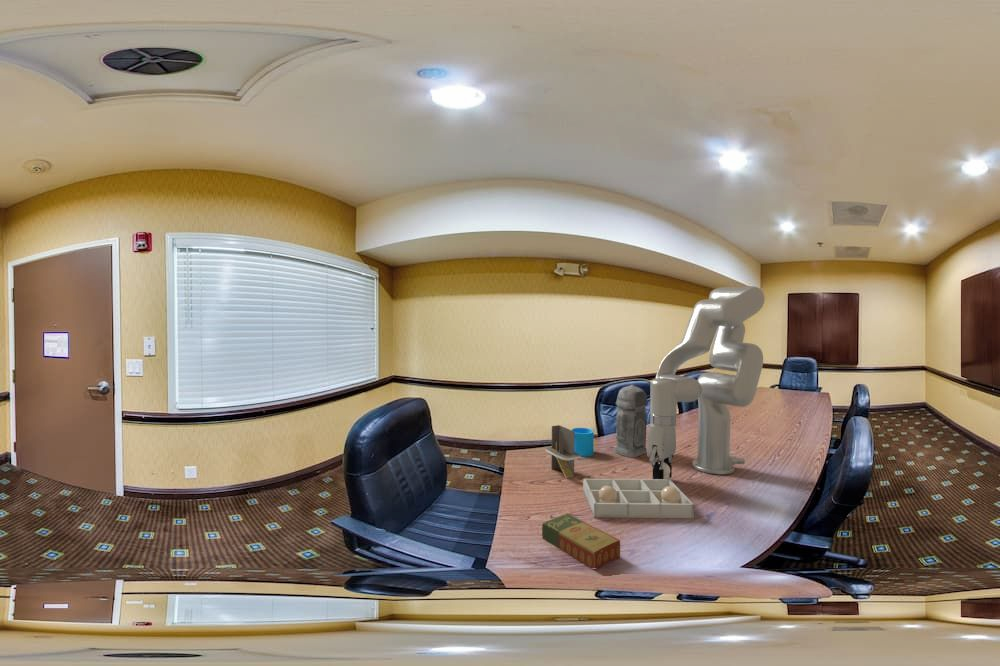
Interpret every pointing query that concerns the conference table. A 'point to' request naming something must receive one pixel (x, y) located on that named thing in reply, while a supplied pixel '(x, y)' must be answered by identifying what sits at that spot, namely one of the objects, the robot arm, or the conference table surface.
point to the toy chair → (563, 450)
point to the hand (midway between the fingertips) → (662, 478)
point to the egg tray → (636, 499)
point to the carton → (581, 540)
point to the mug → (584, 441)
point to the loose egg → (666, 471)
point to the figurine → (631, 422)
